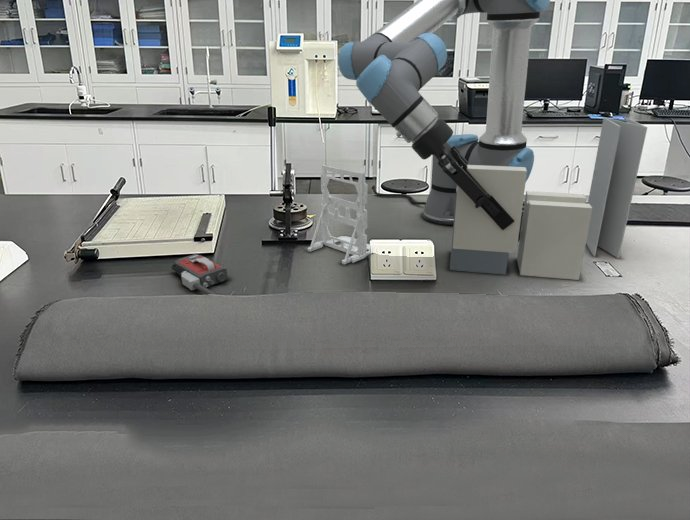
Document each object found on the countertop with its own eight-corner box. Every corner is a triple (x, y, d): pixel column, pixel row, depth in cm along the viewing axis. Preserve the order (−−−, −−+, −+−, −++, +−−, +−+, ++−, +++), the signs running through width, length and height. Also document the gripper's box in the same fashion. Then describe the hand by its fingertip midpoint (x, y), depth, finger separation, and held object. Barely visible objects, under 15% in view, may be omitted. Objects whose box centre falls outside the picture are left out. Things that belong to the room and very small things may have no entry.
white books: (579, 280, 113) (592, 205, 106) (520, 275, 115) (530, 202, 109) (571, 263, 121) (584, 194, 114) (516, 259, 123) (526, 190, 117)
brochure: (619, 258, 124) (647, 127, 112) (593, 256, 125) (619, 126, 113) (604, 237, 137) (628, 118, 125) (581, 236, 138) (603, 117, 126)
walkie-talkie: (163, 274, 115) (212, 305, 102) (160, 256, 114) (210, 284, 100) (199, 263, 121) (250, 291, 108) (196, 245, 119) (248, 271, 106)
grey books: (505, 274, 115) (516, 189, 108) (449, 270, 118) (456, 186, 110) (503, 256, 125) (512, 177, 117) (451, 252, 127) (457, 174, 120)
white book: (516, 253, 101) (527, 170, 95) (452, 248, 104) (459, 167, 98) (515, 247, 104) (525, 167, 98) (453, 243, 107) (459, 164, 100)
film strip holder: (386, 249, 129) (389, 168, 121) (347, 266, 120) (347, 179, 112) (343, 235, 138) (343, 159, 130) (304, 249, 129) (301, 168, 121)
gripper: (413, 137, 107) (490, 221, 110) (405, 153, 92) (493, 249, 95) (442, 110, 103) (520, 197, 107) (437, 123, 89) (528, 223, 92)
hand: (507, 222), depth 101 cm, fingers closed on white book, 3 cm apart
